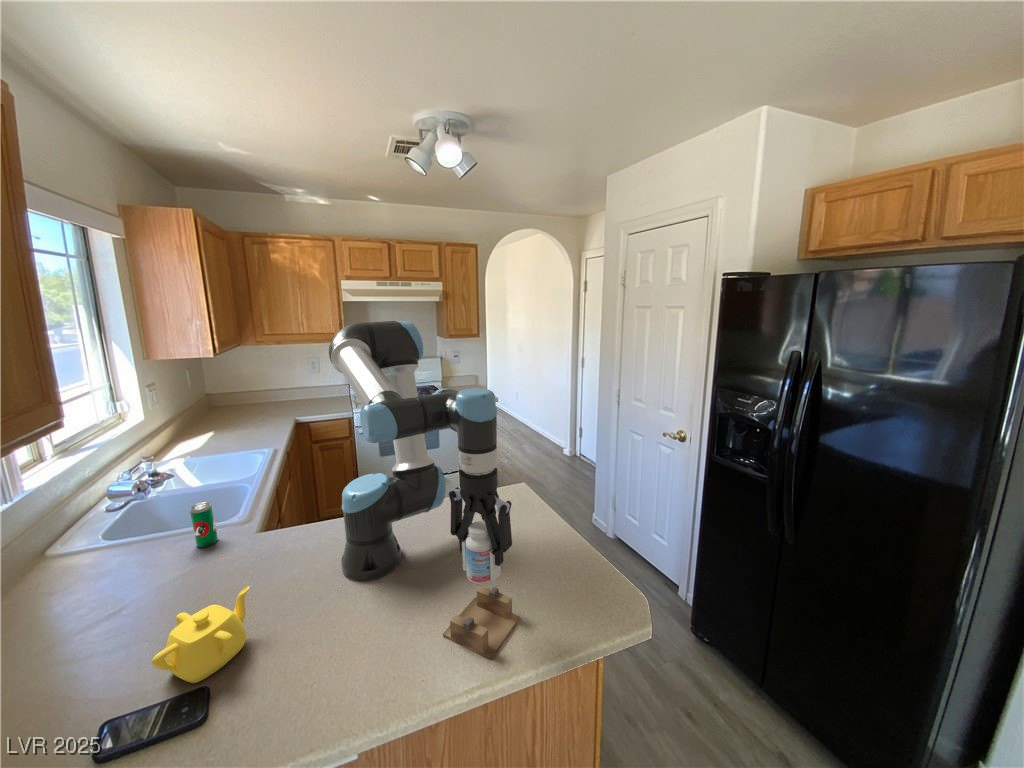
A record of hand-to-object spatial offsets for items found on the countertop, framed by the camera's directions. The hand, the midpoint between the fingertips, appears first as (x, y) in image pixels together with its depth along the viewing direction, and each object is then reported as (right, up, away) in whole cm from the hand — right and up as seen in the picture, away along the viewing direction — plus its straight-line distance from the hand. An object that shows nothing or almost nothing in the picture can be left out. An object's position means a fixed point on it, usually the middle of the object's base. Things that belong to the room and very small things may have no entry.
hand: (481, 571), depth 84 cm
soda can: (-82, -8, +34) cm, 89 cm away
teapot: (-53, -16, -3) cm, 56 cm away
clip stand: (0, -14, +3) cm, 14 cm away
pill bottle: (0, -1, 0) cm, 1 cm away
